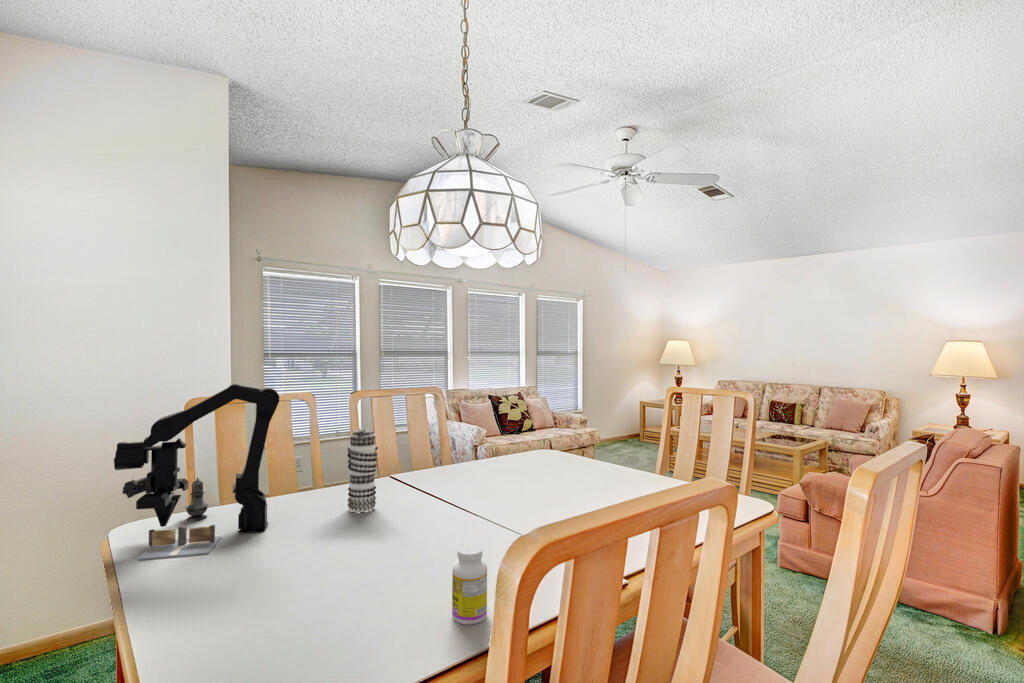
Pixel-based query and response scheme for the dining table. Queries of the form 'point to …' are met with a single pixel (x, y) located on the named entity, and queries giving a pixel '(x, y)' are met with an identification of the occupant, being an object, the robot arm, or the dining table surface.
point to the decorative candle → (362, 471)
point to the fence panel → (161, 537)
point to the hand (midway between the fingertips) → (163, 526)
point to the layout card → (179, 550)
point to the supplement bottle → (469, 586)
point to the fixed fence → (196, 534)
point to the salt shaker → (197, 502)
